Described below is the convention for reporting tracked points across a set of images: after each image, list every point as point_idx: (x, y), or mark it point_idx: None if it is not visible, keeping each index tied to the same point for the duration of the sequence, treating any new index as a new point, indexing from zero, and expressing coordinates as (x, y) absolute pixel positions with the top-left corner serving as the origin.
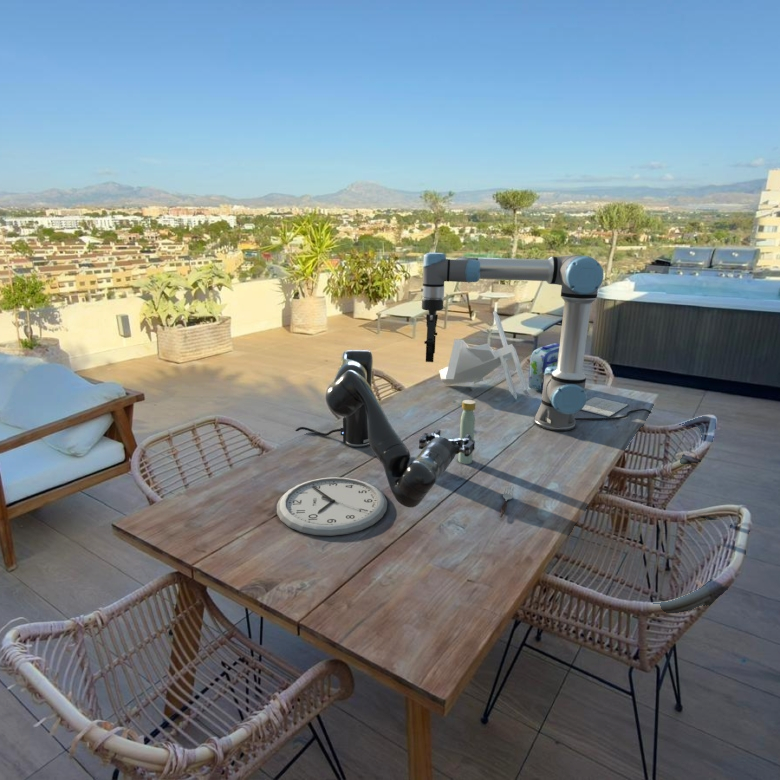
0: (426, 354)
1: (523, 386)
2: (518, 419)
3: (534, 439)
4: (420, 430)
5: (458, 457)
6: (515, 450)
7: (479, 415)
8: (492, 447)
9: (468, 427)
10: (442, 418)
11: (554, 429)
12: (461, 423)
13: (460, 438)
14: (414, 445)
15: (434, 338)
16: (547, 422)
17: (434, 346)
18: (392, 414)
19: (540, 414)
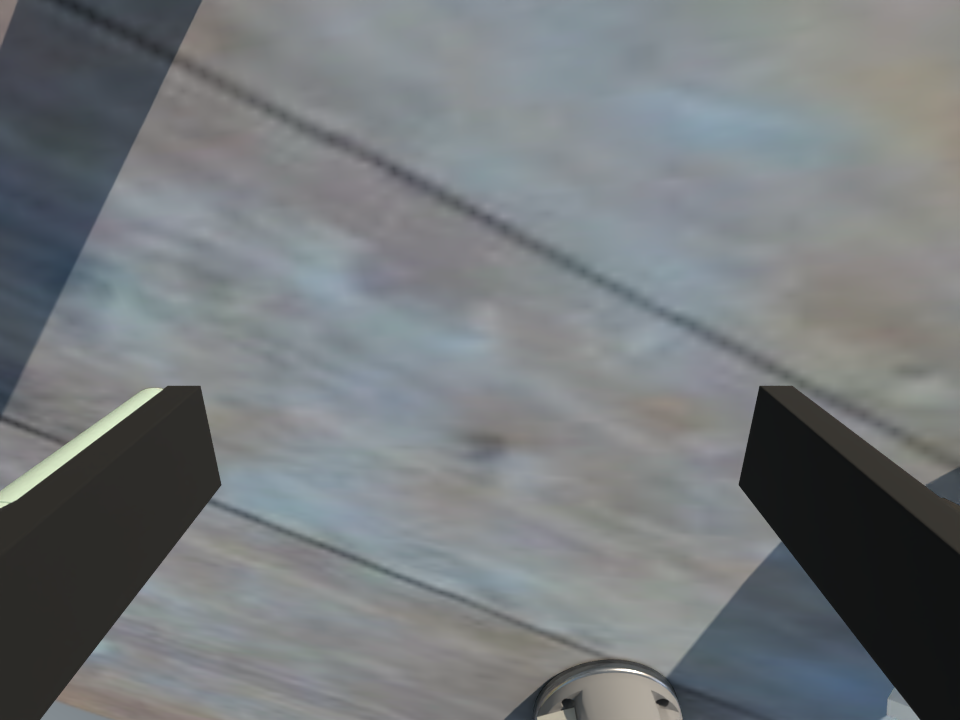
0: (90, 456)
1: (916, 718)
2: (650, 613)
3: (442, 639)
4: (457, 208)
5: (144, 393)
6: (322, 577)
7: (695, 480)
8: (328, 509)
9: None
10: (646, 315)
11: (535, 706)
12: (3, 489)
13: (69, 442)
14: (251, 191)
15: (915, 689)
16: (554, 709)
17: (799, 551)
18: (704, 3)
19: (592, 712)
